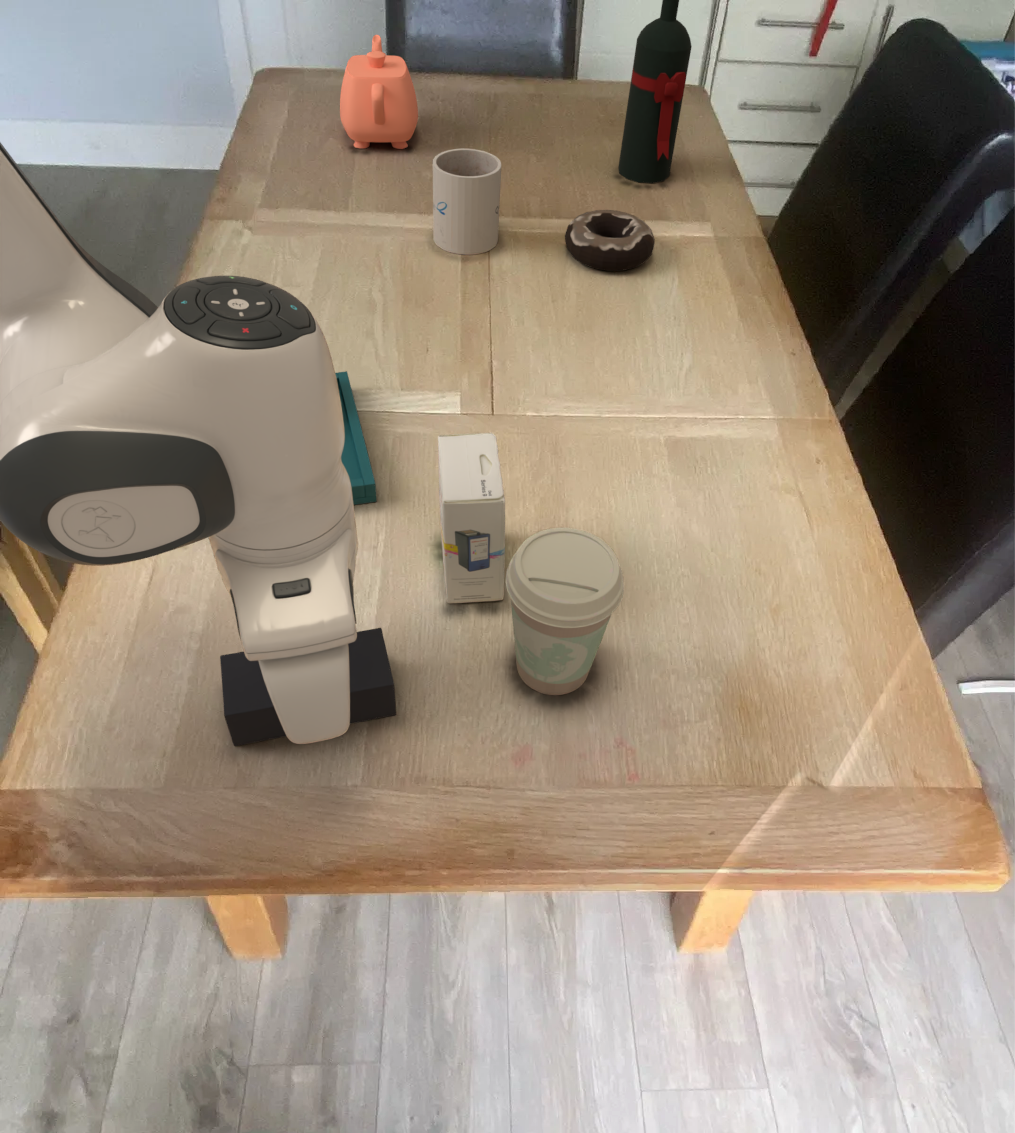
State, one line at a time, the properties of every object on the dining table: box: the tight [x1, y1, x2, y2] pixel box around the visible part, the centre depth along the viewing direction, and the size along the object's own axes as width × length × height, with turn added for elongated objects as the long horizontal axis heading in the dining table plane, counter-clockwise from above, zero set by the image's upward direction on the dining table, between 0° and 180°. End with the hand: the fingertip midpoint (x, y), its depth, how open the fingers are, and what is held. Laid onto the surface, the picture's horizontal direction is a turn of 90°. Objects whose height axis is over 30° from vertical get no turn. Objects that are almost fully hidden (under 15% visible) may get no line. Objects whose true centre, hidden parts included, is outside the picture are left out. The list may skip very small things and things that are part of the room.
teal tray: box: [335, 370, 378, 505], centre depth 88 cm, size 17×18×2 cm
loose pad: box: [219, 627, 397, 747], centre depth 68 cm, size 12×6×4 cm, turn 105°
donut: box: [564, 209, 656, 272], centre depth 118 cm, size 12×12×4 cm
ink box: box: [437, 432, 506, 604], centre depth 75 cm, size 9×5×12 cm, turn 6°
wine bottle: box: [618, 0, 692, 184], centre depth 126 cm, size 8×10×30 cm
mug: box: [432, 148, 502, 256], centre depth 118 cm, size 12×9×10 cm
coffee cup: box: [505, 526, 625, 696], centre depth 68 cm, size 8×8×12 cm
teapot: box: [339, 34, 419, 150], centre depth 137 cm, size 20×12×12 cm, turn 6°
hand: (311, 665), depth 66 cm, fingers open, 8 cm apart
